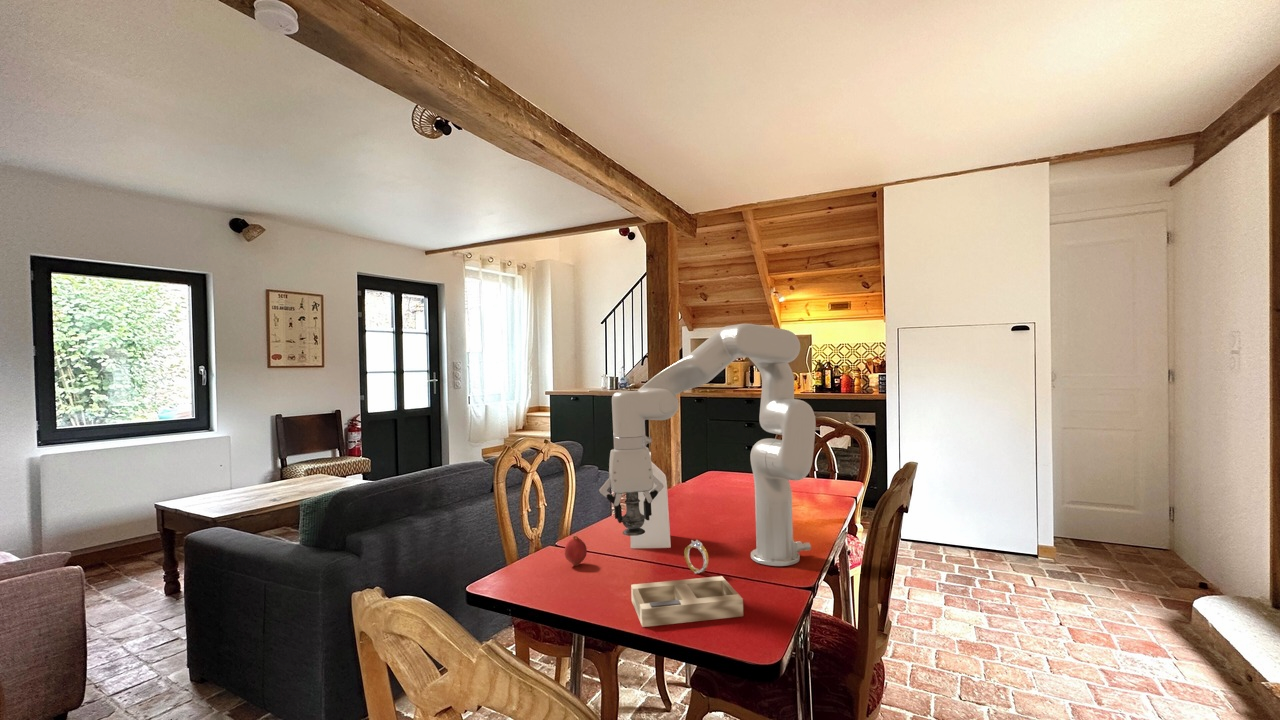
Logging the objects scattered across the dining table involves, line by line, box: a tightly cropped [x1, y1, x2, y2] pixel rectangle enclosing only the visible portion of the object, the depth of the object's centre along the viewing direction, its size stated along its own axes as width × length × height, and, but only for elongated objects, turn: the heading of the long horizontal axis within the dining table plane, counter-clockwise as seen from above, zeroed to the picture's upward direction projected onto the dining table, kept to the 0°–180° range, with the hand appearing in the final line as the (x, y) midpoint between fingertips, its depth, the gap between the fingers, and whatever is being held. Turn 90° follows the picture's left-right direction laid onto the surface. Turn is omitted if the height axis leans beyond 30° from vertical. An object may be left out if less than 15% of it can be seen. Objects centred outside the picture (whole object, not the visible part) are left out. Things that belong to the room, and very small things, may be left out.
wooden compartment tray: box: [630, 575, 744, 628], centre depth 118 cm, size 21×13×4 cm, turn 100°
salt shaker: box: [621, 492, 646, 537], centre depth 131 cm, size 6×6×12 cm
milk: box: [630, 451, 672, 549], centre depth 165 cm, size 12×12×26 cm
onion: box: [564, 534, 588, 567], centre depth 146 cm, size 6×6×8 cm
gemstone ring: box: [683, 539, 709, 574], centre depth 138 cm, size 7×3×8 cm, turn 38°
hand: (633, 519), depth 131 cm, fingers closed on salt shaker, 5 cm apart
